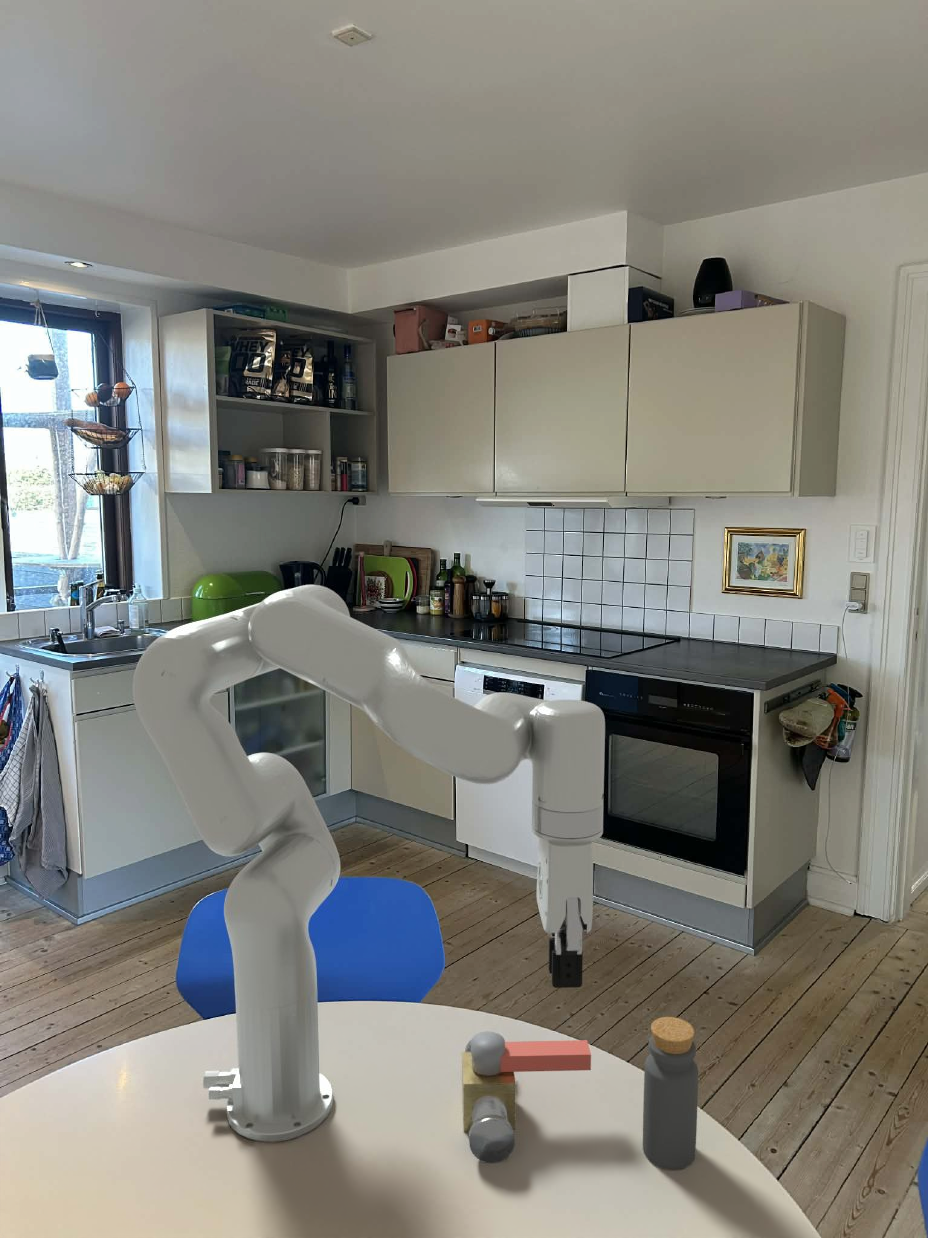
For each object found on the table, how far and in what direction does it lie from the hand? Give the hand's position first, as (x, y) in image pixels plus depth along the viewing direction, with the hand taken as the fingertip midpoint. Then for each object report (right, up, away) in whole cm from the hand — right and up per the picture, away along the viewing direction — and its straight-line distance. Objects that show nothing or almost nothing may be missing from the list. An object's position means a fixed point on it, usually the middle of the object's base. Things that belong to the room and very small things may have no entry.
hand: (565, 978), depth 99 cm
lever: (-3, -14, +9) cm, 17 cm away
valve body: (-8, -20, +10) cm, 24 cm away
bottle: (+12, -21, +3) cm, 24 cm away
